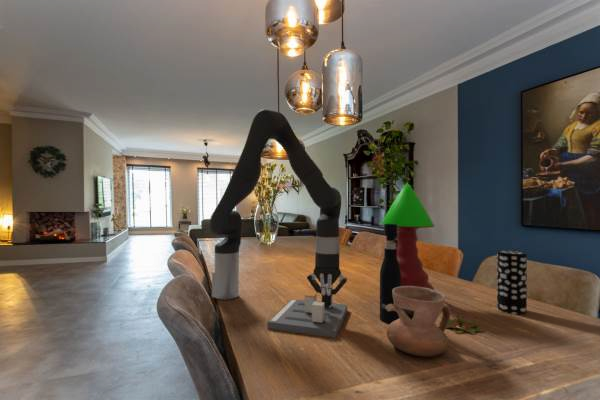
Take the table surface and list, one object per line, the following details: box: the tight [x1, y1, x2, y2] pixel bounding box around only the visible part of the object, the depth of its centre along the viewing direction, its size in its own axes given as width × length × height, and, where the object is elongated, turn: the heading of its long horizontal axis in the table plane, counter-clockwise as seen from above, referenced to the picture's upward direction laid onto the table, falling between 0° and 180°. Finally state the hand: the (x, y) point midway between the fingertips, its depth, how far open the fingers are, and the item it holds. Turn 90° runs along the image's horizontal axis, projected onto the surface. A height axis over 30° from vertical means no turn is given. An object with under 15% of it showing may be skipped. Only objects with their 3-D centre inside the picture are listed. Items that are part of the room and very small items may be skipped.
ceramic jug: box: [385, 286, 452, 358], centre depth 76 cm, size 18×14×14 cm
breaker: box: [312, 300, 325, 323], centre depth 87 cm, size 3×3×5 cm
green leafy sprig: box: [437, 311, 485, 336], centre depth 90 cm, size 12×12×5 cm
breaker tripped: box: [304, 292, 318, 313], centre depth 95 cm, size 3×3×5 cm
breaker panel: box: [266, 298, 348, 339], centre depth 95 cm, size 20×22×2 cm
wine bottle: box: [379, 224, 401, 325], centre depth 95 cm, size 6×6×30 cm
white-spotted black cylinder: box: [496, 249, 528, 316], centre depth 104 cm, size 8×8×20 cm
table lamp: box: [380, 182, 435, 290], centre depth 117 cm, size 20×20×45 cm
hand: (326, 306), depth 94 cm, fingers closed
